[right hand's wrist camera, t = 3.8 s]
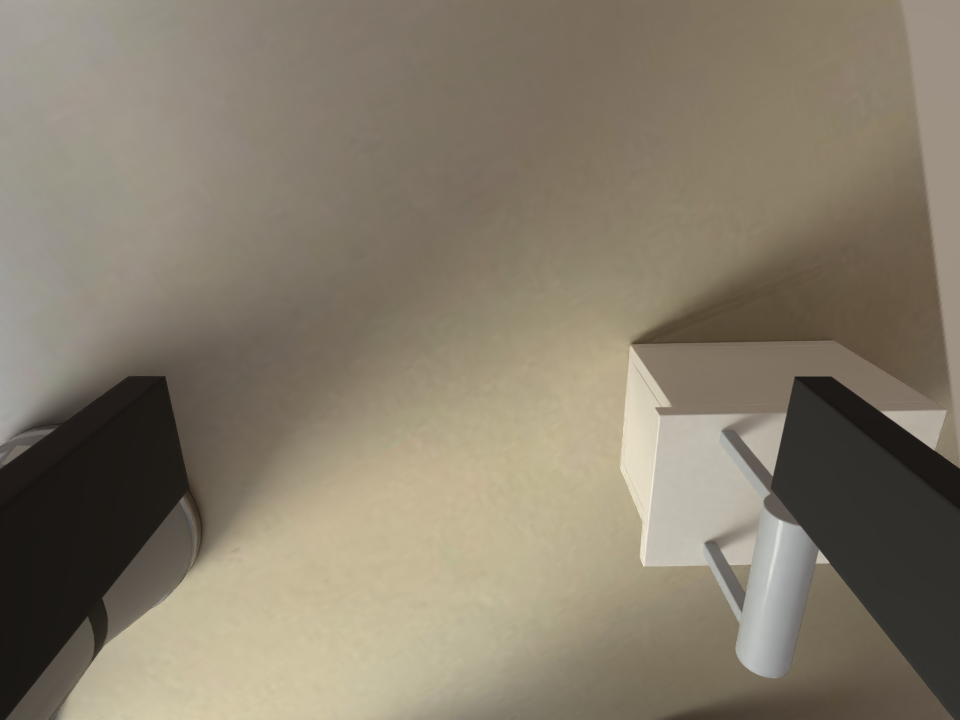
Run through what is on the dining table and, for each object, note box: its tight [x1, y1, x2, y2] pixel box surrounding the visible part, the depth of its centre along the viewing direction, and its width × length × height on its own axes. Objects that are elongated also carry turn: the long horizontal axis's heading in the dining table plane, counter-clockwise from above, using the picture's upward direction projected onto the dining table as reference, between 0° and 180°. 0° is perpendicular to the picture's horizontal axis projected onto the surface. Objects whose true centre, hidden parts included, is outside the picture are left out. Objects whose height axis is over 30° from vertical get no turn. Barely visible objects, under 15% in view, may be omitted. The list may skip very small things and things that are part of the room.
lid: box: [640, 402, 947, 678], centre depth 27 cm, size 14×9×9 cm, turn 91°
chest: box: [620, 340, 933, 522], centre depth 35 cm, size 13×9×9 cm
